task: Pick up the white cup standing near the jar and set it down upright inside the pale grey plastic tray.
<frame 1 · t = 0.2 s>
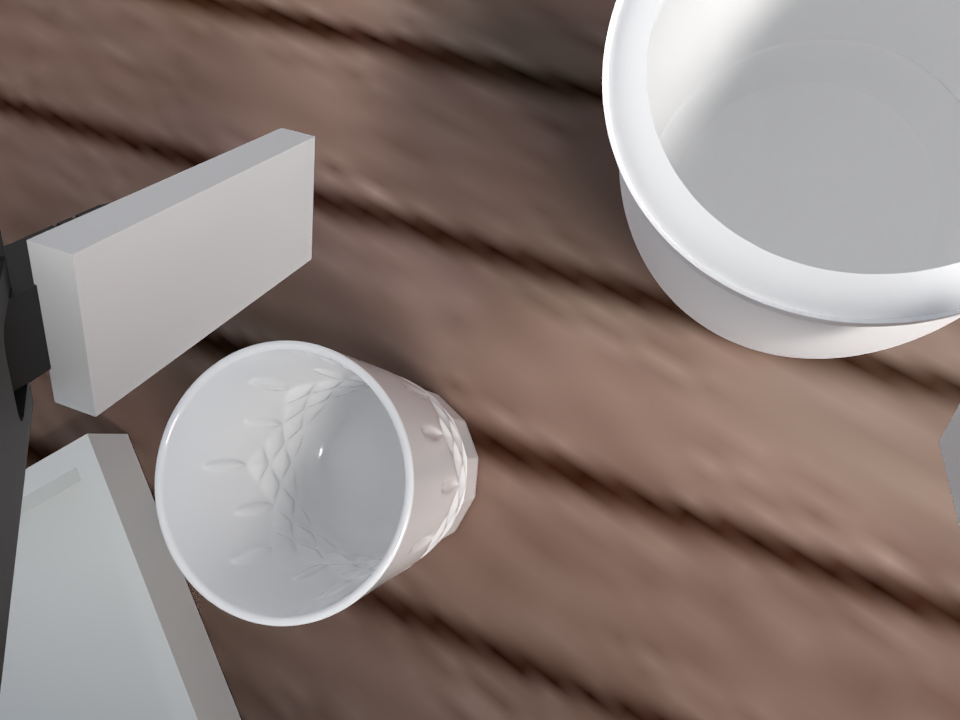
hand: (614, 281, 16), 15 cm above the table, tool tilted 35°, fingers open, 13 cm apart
jar: (782, 239, 30), on the table
white cup: (399, 468, 32), on the table
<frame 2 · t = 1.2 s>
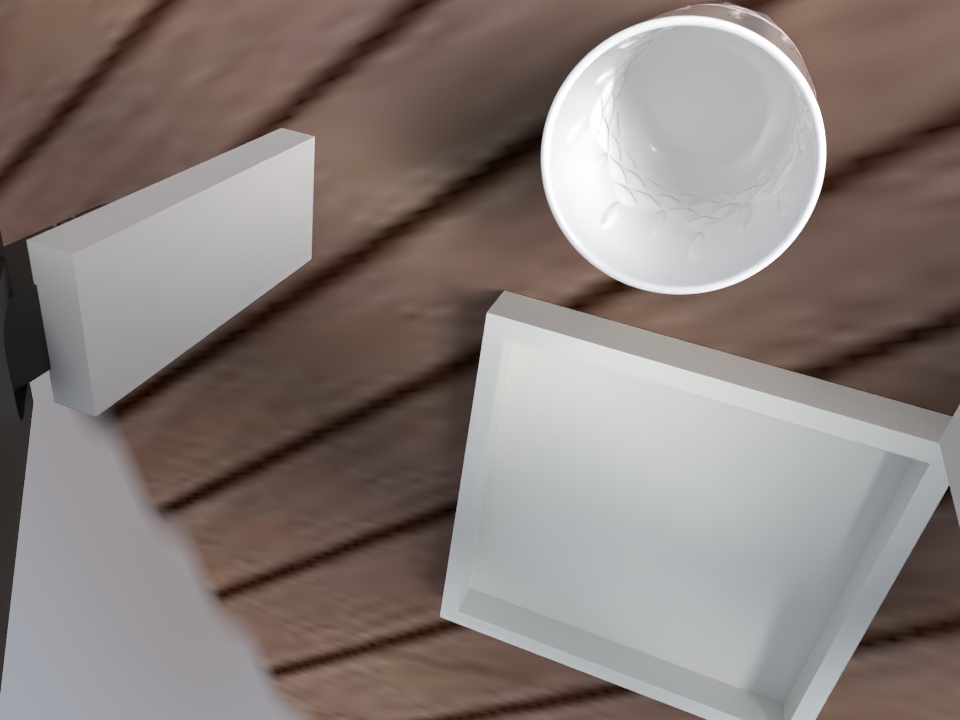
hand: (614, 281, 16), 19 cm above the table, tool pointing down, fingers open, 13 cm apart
grey tray: (661, 517, 41), on the table
white cup: (711, 96, 31), on the table
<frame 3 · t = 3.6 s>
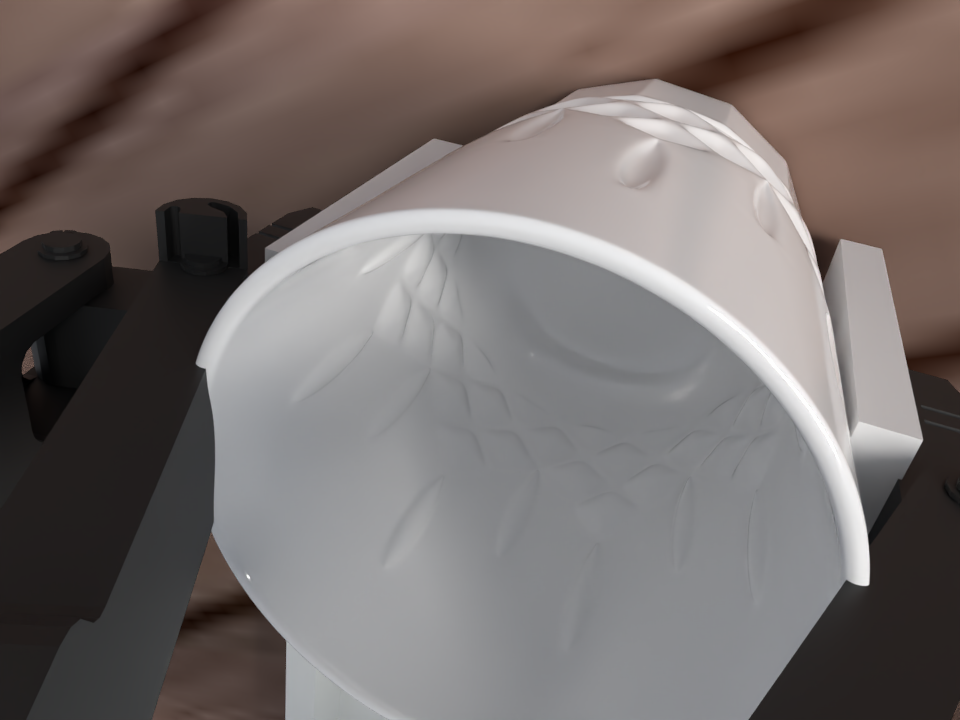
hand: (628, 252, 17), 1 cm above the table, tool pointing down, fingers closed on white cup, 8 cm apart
white cup: (637, 237, 18), on the table, touching gripper
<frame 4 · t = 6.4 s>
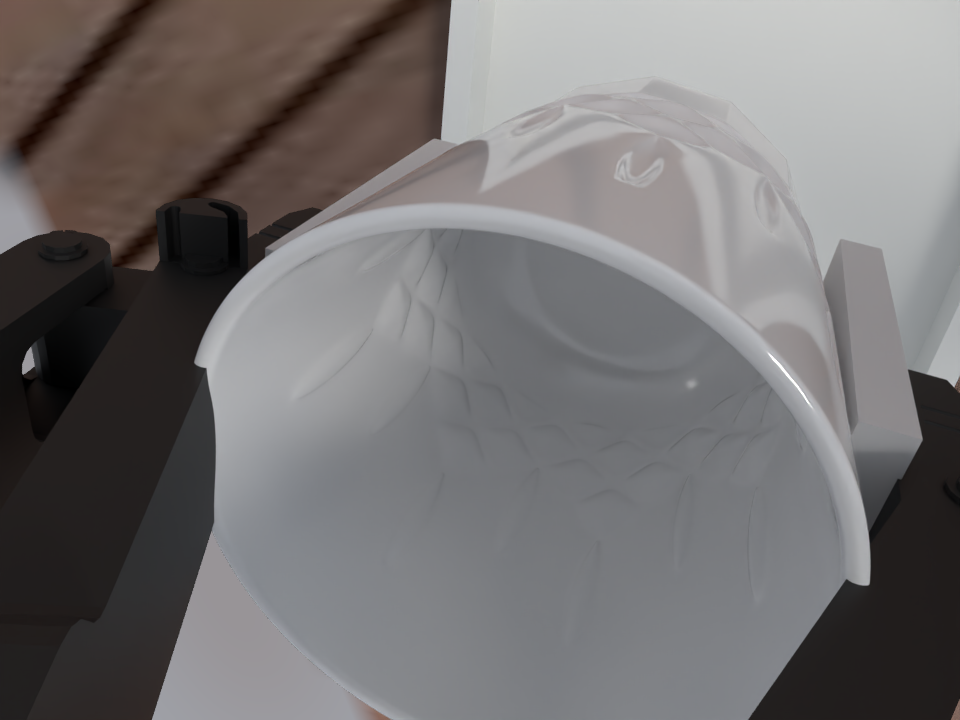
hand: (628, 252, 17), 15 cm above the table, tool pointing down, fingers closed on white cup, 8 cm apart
grey tray: (711, 175, 31), on the table
white cup: (637, 235, 18), point 14 cm above the table, touching gripper
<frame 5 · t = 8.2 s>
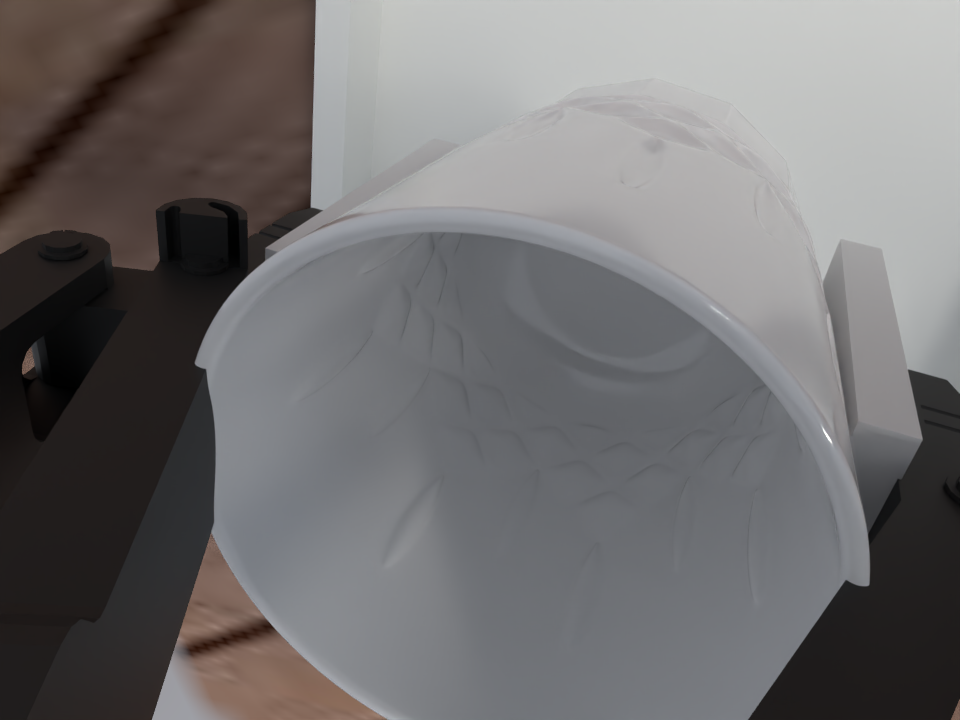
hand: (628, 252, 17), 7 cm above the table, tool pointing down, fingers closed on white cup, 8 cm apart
grey tray: (681, 162, 22), on the table
white cup: (636, 237, 18), point 6 cm above the table, touching gripper
when the fingers open (3 cm above the table, at t = 9.4 s): white cup drops 1 cm, resting on grey tray.
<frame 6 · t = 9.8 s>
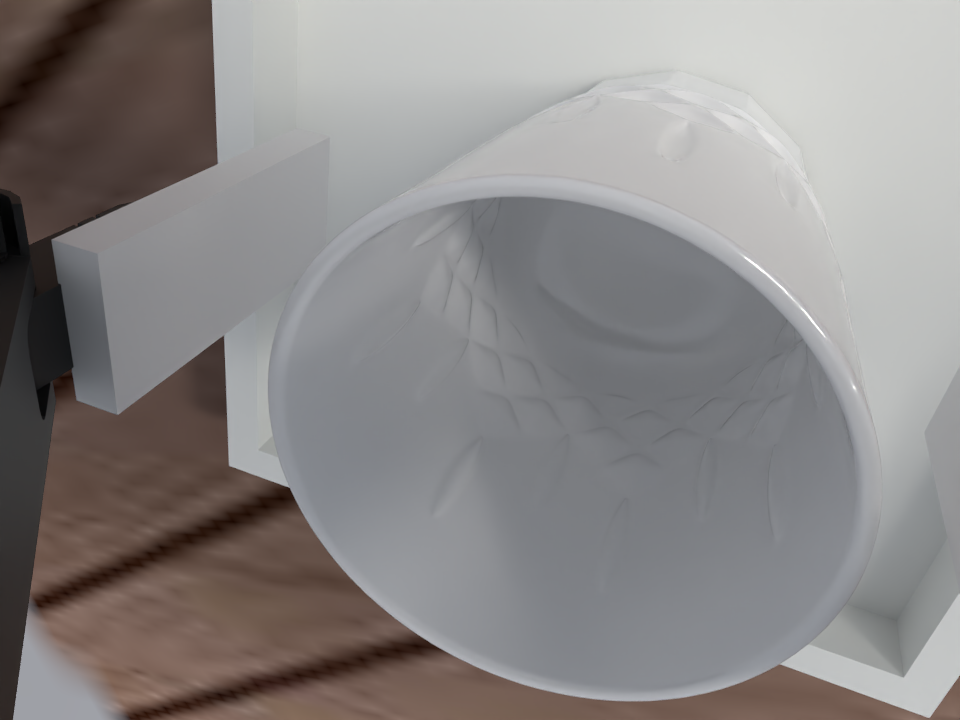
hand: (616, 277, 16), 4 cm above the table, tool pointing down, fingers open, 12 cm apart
grey tray: (649, 210, 19), on the table
white cup: (658, 219, 19), resting on grey tray
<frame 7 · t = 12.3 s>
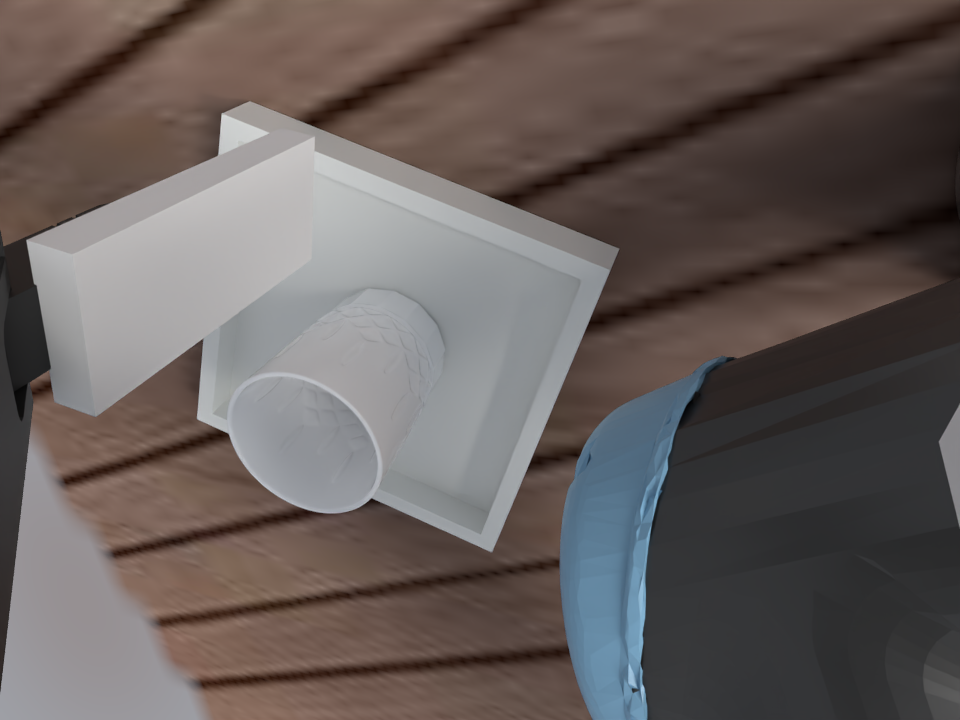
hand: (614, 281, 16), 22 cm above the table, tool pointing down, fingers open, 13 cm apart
grey tray: (389, 334, 46), on the table
white cup: (391, 339, 45), resting on grey tray
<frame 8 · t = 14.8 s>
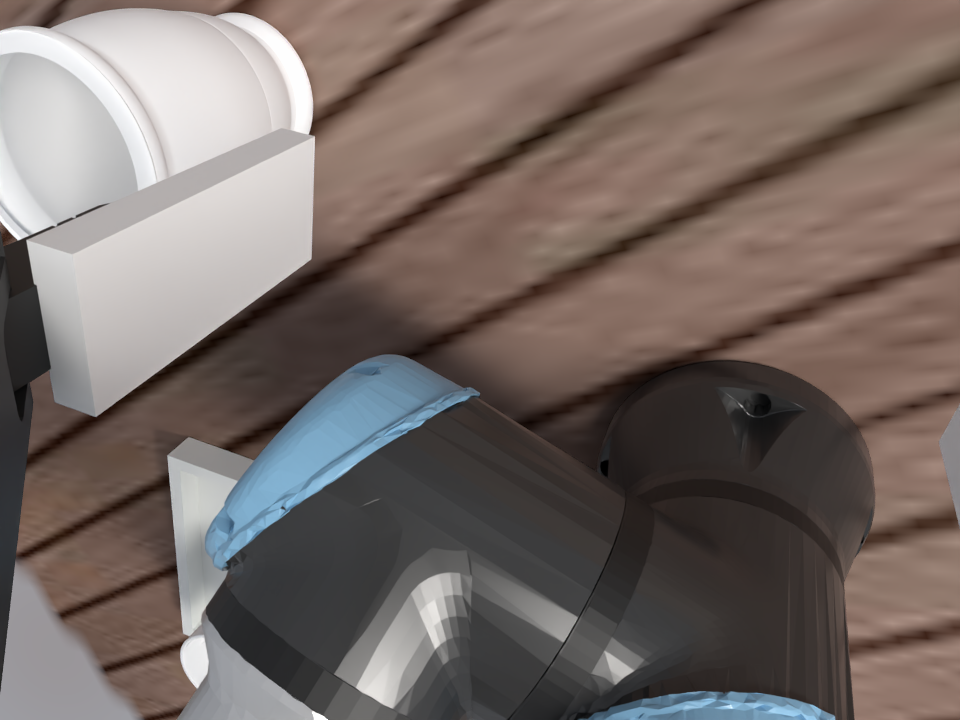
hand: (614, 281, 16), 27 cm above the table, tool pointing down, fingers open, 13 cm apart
grey tray: (302, 572, 65), on the table
jar: (253, 91, 47), on the table
white cup: (302, 577, 65), resting on grey tray
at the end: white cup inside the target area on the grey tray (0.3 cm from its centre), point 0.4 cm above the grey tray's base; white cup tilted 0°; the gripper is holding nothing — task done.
